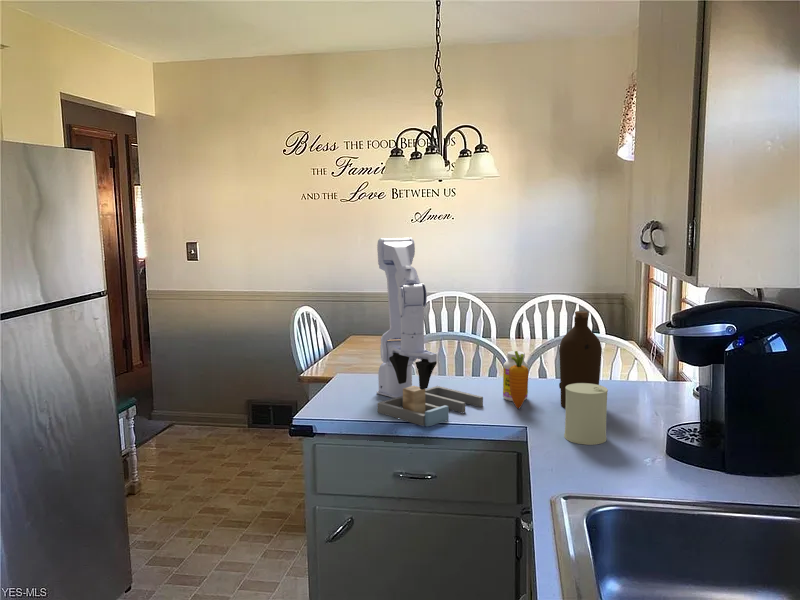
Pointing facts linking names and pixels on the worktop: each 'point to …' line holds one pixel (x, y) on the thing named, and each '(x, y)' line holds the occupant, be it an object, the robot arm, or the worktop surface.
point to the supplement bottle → (506, 374)
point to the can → (586, 413)
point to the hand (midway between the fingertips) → (412, 385)
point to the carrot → (518, 380)
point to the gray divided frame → (431, 406)
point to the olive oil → (579, 355)
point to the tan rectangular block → (414, 399)
